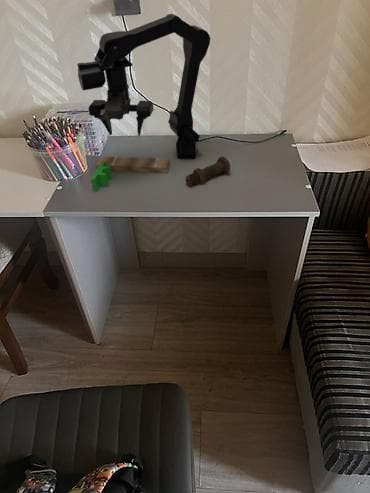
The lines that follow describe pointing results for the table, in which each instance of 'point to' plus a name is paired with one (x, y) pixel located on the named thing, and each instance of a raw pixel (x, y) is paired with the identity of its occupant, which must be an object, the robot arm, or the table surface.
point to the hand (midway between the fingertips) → (125, 135)
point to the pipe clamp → (101, 176)
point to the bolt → (208, 171)
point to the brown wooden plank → (136, 164)
